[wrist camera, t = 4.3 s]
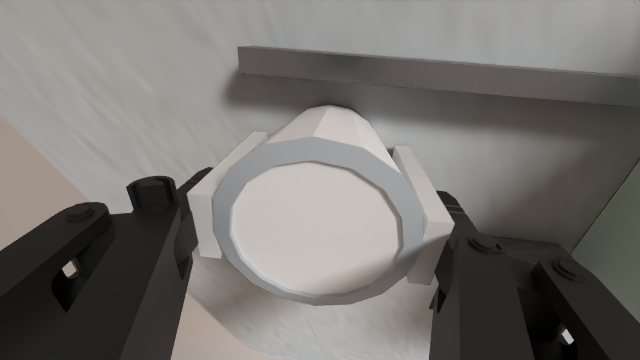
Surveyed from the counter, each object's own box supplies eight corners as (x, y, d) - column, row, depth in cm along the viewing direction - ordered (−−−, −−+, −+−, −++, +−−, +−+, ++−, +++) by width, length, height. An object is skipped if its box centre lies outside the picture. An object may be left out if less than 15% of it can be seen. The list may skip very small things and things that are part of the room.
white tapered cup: (262, 90, 13) (185, 133, 7) (400, 92, 12) (451, 142, 6) (274, 203, 16) (229, 301, 10) (384, 209, 16) (406, 316, 9)
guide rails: (253, 46, 12) (237, 46, 10) (673, 78, 11) (734, 85, 9) (263, 222, 17) (253, 243, 15) (550, 256, 16) (575, 282, 14)
